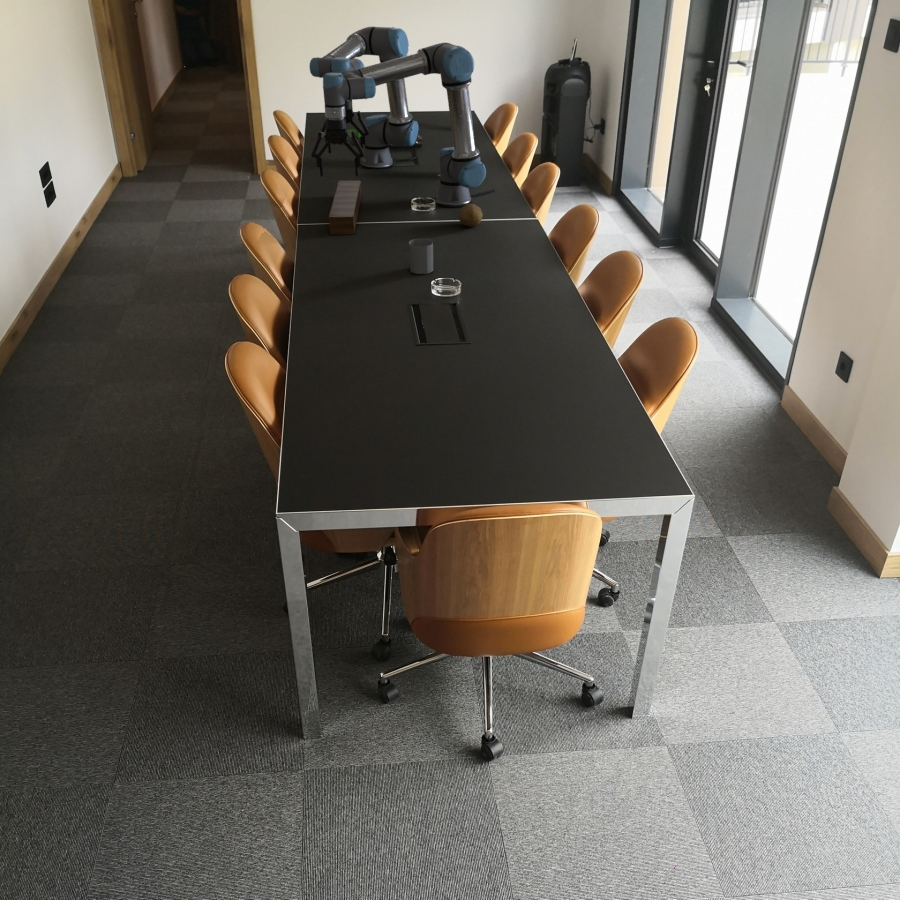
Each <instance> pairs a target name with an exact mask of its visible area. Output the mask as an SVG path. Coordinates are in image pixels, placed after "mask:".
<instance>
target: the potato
mask: <svg viewBox="0 0 900 900" xmlns="http://www.w3.org/2000/svg"><path fill="white" fill-rule="evenodd" d="M483 216H484V214H483V211H482V209H481V207H479V206H478V205H476V204H474V203H470V204H467V205H464V206H462V207H461V209H460V211H459V213H458V220H459V221H460V223H461V224H462V225H464V226H466V227H468V228H473V227H476V226H477V225H479V224H481V222H482V219H483Z"/></svg>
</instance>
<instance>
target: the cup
mask: <svg viewBox="0 0 900 900" xmlns="http://www.w3.org/2000/svg"><path fill="white" fill-rule="evenodd" d="M408 253H409V272H411V273H412V274H416V275H426V274H430V273H432V272H434V241H433V240H431V239H428V238H422V237H421V238H420V237H419V238H414V239H411V240H410V241H409V242H408Z"/></svg>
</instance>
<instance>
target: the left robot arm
mask: <svg viewBox="0 0 900 900" xmlns="http://www.w3.org/2000/svg"><path fill="white" fill-rule="evenodd" d="M409 44H410V43H409V40H408V36H407V33H406V31H404V30H403V29H402V28H400V27H394V26H391V27H387V26H383V27H382V26H366V27H363V28H361V29H359V30H356V31H354V32H352V33H351V34H349V36H348V37H347V38H346V40H345V41H344V42H342V43H341V44H339V45H338V46H337V47H335V48H334V49H333V50H331V51H329V52H328V53H326V54H325V55H324V56H322V57H312V58H311V59H310V61H309V73H310V75H311V76H312V77H314V78H319V79H321V78H322V79H323V76H324V75H325V74H327V73H340V72H341V71H353V70H357V69H360V68H364V67H365V64H364V62H363V61H362V60H361V59H359V58H360V57H363V56H377V57H378V60H379V63H382V62H386V61H389V60H393V59H396V58H400V57H404V56H407V55H409V54H408V53H409ZM385 85H386V91H387V92H386V93H387V98H388V105H389V106H388V107H389V113H390V114H389V116H388V115H387V114H384V113H383V114H373V115H370V116H366V117H365V118H364V119H363V118H362V113H361V111H360V110H357V111H354V110H353V108H354V107H353V100H345V117H344V118H345V119H346V124H349V123H350V124H351V125H352V126H353V128H354V129H355V130H357V131H358V132H359V133H360V134H361V135H362V136H361V137H360V140H361V142H360V146H361V148H362V149H363V151H364V153H365V155H364V157H362V158H361V166H362V167H363V168H366V169H371V170H381V169H387V168H390V167H392V166H394V161H398V162H407V161H408V162H409V161H413V160H415V159H417V158H418V154H415V155H414V157H411V158H395V157H392V155H391V152H390V151H391V150H390V147H389V146H390V145H391V146H399V147H400V146H401V147H413V145H414V144H415V143H416V141H417V139H418V134H419V123H418V121H416V120H414V119H413V114H412V113H411V112H409V106H408V105H409V104H408V97H407V88H406V81H405V78H403V79H399V80H396V81H392V82H388V83H385ZM354 116H355V118H357V119H358V122H359V123H360V125H361V127H362V128H361V127H360V126H359V125H358V123H357V122H356V121H355V120H354V119H353V117H354ZM326 119H327V118H326V117H325V120H324V123H323V126H322V128H321V131H322V132H326ZM323 138H324V143H326V142H327V140H328V138H327V137H326V136H324V137H323ZM331 144H332V143H330V144H329V146H328V147H327V149H328V154H331V153H332V145H331Z"/></svg>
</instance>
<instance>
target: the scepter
mask: <svg viewBox="0 0 900 900" xmlns="http://www.w3.org/2000/svg"><path fill="white" fill-rule="evenodd" d="M346 130H347V132H352V131H355V136H356V138H357V140H358V142H359V144H361V140H360V137H361V136H362V135H361V134H360V133H359V132H358V131H357V130H356V129H355V128H354V129H353V128H351V129H346ZM350 140H352V141H353V139H352V138H350ZM348 142H349V143H350V144H351V145H352V146H353V145H354V146H356V145H355V143H354V142H351V141H348Z"/></svg>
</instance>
